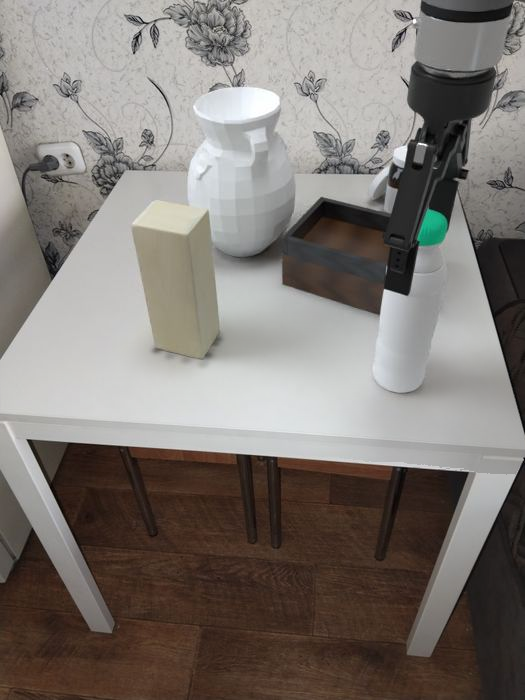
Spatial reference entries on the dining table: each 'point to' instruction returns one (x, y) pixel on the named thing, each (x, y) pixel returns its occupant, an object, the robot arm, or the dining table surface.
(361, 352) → the dining table surface
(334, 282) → the open rectangular box
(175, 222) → the beige rectangular block
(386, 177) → the spread jar
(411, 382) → the water bottle
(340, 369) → the dining table surface
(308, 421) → the dining table surface
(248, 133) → the white vase
